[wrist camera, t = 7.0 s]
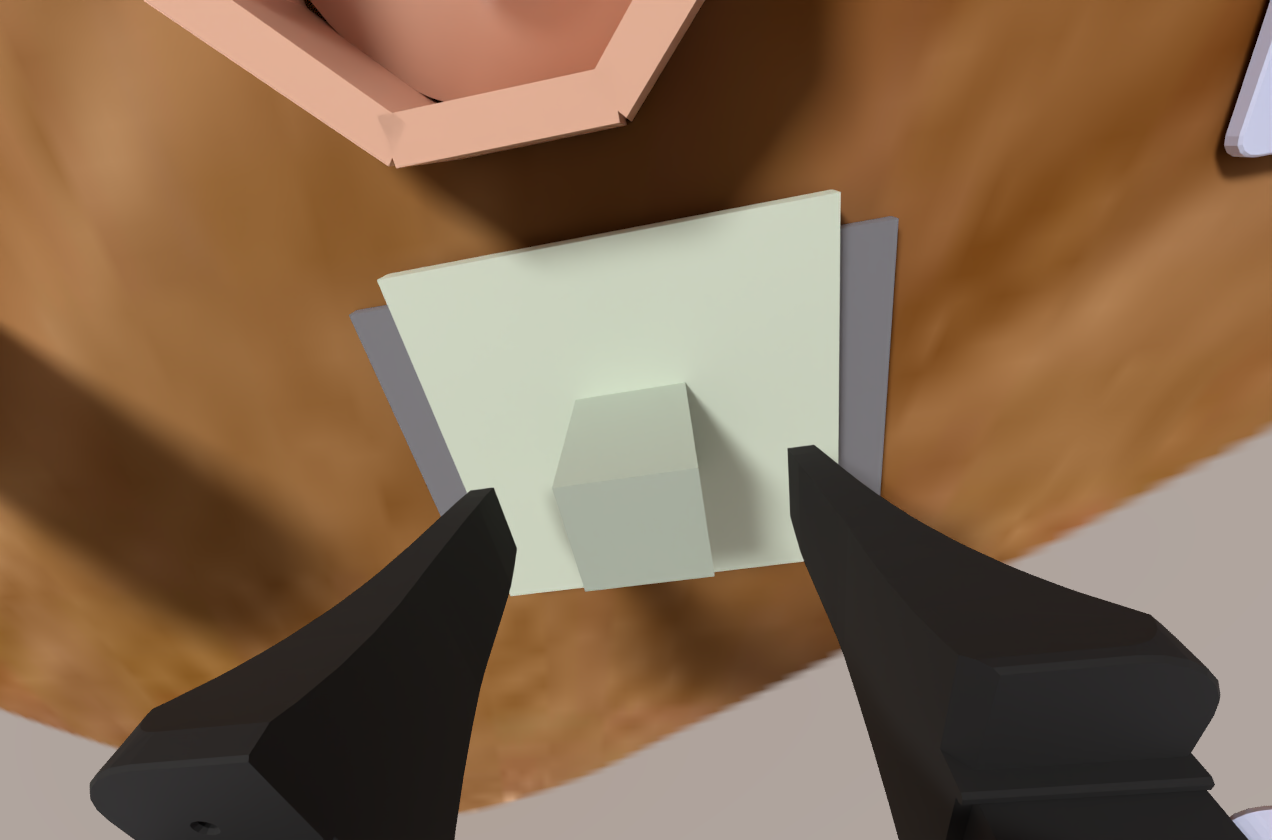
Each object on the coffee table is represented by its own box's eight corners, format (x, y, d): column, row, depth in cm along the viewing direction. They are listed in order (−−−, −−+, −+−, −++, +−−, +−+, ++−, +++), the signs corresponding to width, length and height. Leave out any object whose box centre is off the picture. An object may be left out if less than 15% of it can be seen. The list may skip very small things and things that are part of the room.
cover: (832, 189, 12) (926, 218, 8) (831, 544, 17) (888, 670, 13) (387, 273, 13) (272, 336, 9) (514, 582, 18) (477, 709, 14)
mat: (891, 216, 13) (898, 218, 12) (872, 528, 17) (877, 537, 17) (356, 310, 14) (348, 314, 14) (475, 575, 19) (472, 584, 18)
